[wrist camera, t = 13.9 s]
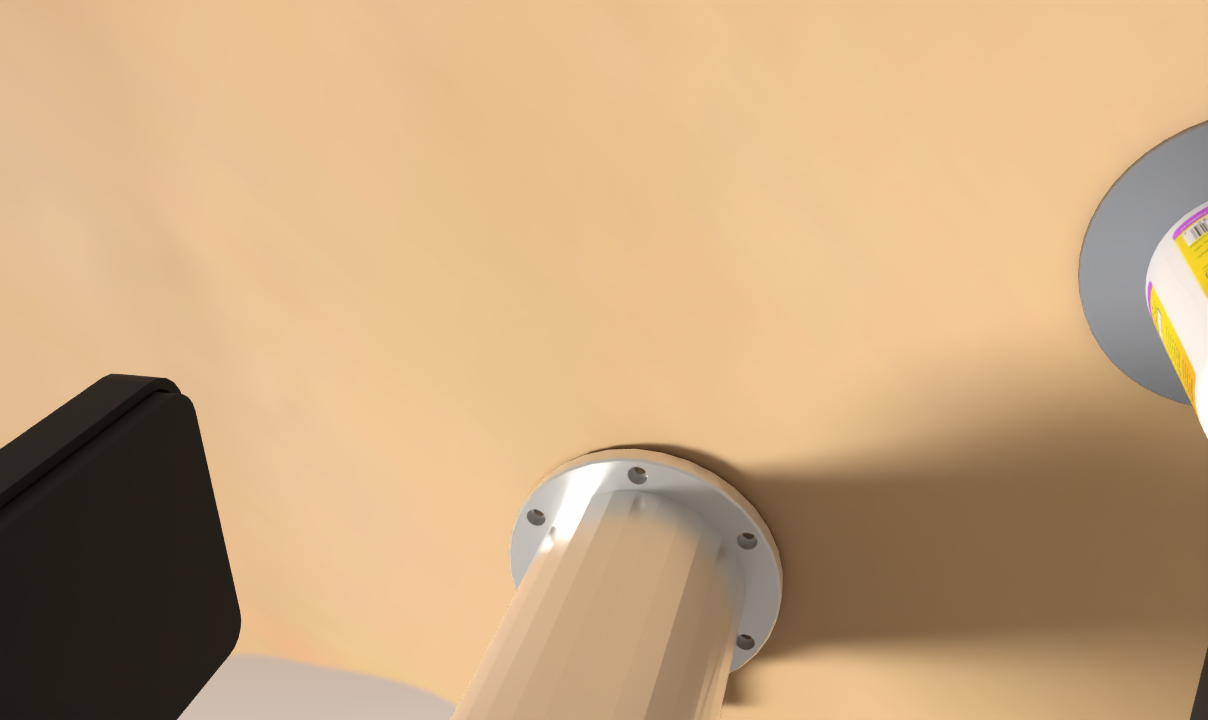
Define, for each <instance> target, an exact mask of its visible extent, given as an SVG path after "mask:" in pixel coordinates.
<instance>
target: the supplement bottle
mask: <svg viewBox="0 0 1208 720" xmlns="http://www.w3.org/2000/svg"><path fill="white" fill-rule="evenodd" d="M1146 300H1147V306H1148V309H1149V312H1150V315H1151V318H1152V321H1153V323H1154V325H1155V327H1156V330H1157V332H1158V334H1159V336H1160V338H1161V340H1162V342H1163V345H1164V347H1165V349H1166V351H1167V353H1168V356H1169V358H1170V359H1171V362H1172V364H1173V366H1174V368H1175V370H1176V372H1177V374H1178V376H1179V378H1180V380H1181V383H1182V385H1183V387H1184V389H1185V391H1186V393H1187V395H1188V397H1189V399H1190V402H1191V404H1192V406H1193V408H1194V410H1195V412H1196V415H1197V417H1198V419H1199V422H1200V424H1201V426H1202V428H1203V430H1204V432H1205V434H1206V436H1207V438H1208V201H1207V202H1205V203H1203V204H1201V205H1199V206H1198V207H1196V208H1194V209H1193V210H1191V211H1190V212H1188V213H1187V214H1186V215H1184V216H1183V217H1182V218H1181V219H1180V220H1179V221H1177V222H1176V223H1175V224H1174V225H1173V226H1172V227H1171V228H1170V230H1169V231H1168V232H1167V233H1166V234H1165V236H1164V237H1163V238H1162V240H1161V241H1160V243H1159V244H1158V246H1157V248H1156V250H1155V252H1154V254H1153V256H1152V258H1151V261H1150V264H1149V267H1148V271H1147V276H1146Z"/></svg>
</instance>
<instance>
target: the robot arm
mask: <svg viewBox="0 0 1208 720" xmlns="http://www.w3.org/2000/svg"><path fill="white" fill-rule="evenodd" d="M640 468H642V469H640ZM509 561H510V572H511V576H512V579H513V582H514V586H515V589H516V593H515V595H514V597H513V599H512V601H511V603H510V605H509V607H508V609H507V611H506V612H505V614H504V616H503V618H502V620H501V622H500V624H499V626H498V628H497V630H496V632H495V634H494V636H493V638H492V640H491V642H490V644H489V645H488V647H487V649H486V651H485V653H484V655H483V657H482V659H481V661H480V663H479V665H478V667H477V669H476V671H475V673H474V675H473V676H472V678H471V680H470V682H469V684H468V686H467V688H466V690H465V692H464V694H463V696H462V698H461V700H460V702H459V704H458V706H457V707H456V709H455V711H454V713H453V715H452V717H451V719H450V720H719V716H720V712H721V707H722V703H723V698H724V694H725V689H726V685H727V680H728V676H729V673H731V672H733V671H735V670H737V669H739V668H741V667H742V666H743V665H744V664H745V663H747V662H748V661H749V660H750V659H751V658H752V657H754V656H755V655H756V654H757V653H758V652H759V650H760V649H761V648H762V646H763V645H764V644H765V642H766V641H767V640H768V638H769V637H770V635H771V632H772V630H773V628H774V625H775V623H776V621H777V618H778V614H779V609H780V604H781V599H782V588H783V571H782V566H781V561H780V556H779V551H778V549H777V546H776V544H775V542H774V539H773V537H772V535H771V532H770V530H769V528H768V527H767V525H766V524H765V522H764V521H763V519H762V518H761V516H760V515H759V513H758V512H757V511H756V509H755V508H754V507H753V506H752V505H751V504H750V503H749V502H748V501H747V500H746V499H745V498H744V497H743V496H742V495H741V494H740V493H739V492H738V491H737V490H736V489H735V488H734V487H732V486H731V485H730V484H728V483H727V482H725V481H724V480H723V479H721V478H720V477H718V476H717V475H716V474H714V473H713V472H711V471H709V470H707V469H704V468H702V467H700V466H698V465H696V464H694V463H692V462H690V461H688V460H685V459H682V458H678V457H675V456H672V455H669V454H665V453H662V452H655V451H648V450H640V449H613V450H605V451H600V452H595V453H591V454H586V455H583V456H581V457H578V458H576V459H574V460H571V461H569V462H567V463H564V464H562V465H561V466H559V467H558V468H557V469H555V470H554V471H552V472H551V473H550V474H548V475H547V476H545V477H544V478H543V479H542V480H541V481H540V483H539V484H538V485H537V486H536V487H535V488H534V489H533V490H532V492H531V493H530V494H529V496H528V497H527V499H526V501H525V502H524V504H523V506H522V507H521V509H520V511H519V513H518V516H517V518H516V521H515V523H514V526H513V528H512V531H511V538H510V546H509ZM240 628H241V614H240V609H239V604H238V600H237V595H236V591H235V586H234V582H233V577H232V573H231V568H230V564H229V559H228V555H227V550H226V546H225V542H224V537H223V533H222V528H221V524H220V519H219V515H218V510H217V506H216V501H215V497H214V492H213V488H212V483H211V479H210V474H209V470H208V465H207V461H206V456H205V452H204V447H203V443H202V438H201V434H200V429H199V425H198V420H197V416H196V411H195V409H194V406H193V403H192V402H191V400H190V399H189V398H188V397H187V396H185V395H183V394H181V392H180V390H179V388H178V387H177V386H176V384H175V383H174V382H172V381H171V380H169V379H167V378H158V377H147V376H135V375H124V374H110V375H108V376H105V377H103V378H101V379H100V380H98V381H97V382H96V383H94V384H93V385H91V386H90V387H88V388H87V389H86V390H84V391H83V392H81V393H80V394H78V395H77V396H76V397H74V398H73V399H71V400H70V401H68V402H67V403H66V404H64V405H63V406H61V407H60V408H58V409H57V410H56V411H54V412H53V413H51V414H50V415H48V416H47V417H46V418H44V419H43V420H41V421H40V422H38V423H37V424H36V425H34V426H33V427H31V428H30V429H28V430H27V431H26V432H24V433H23V434H21V435H20V436H18V437H17V438H16V439H14V440H13V441H11V442H10V443H8V444H7V445H6V446H4V447H3V448H1V449H0V720H177V719H178V718H179V716H180V715H181V714H182V713H183V711H184V710H185V709H186V708H187V706H188V705H189V704H190V703H191V701H192V700H193V699H194V698H195V696H196V695H197V694H198V693H199V692H200V690H201V689H202V688H203V687H204V686H205V684H206V683H207V682H208V681H209V679H210V678H211V677H212V676H213V674H214V673H215V672H216V671H217V670H218V668H219V667H220V666H221V665H222V663H223V662H224V661H225V660H226V659H227V657H228V656H229V655H230V654H231V652H232V650H233V649H234V647H235V645H236V643H237V640H238V637H239V633H240ZM1190 720H1208V649H1207V653H1206V657H1205V661H1204V665H1203V669H1202V673H1201V677H1200V681H1199V685H1198V689H1197V693H1196V697H1195V701H1194V705H1193V709H1192V713H1191V717H1190Z"/></svg>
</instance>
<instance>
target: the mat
mask: <svg viewBox="0 0 1208 720" xmlns="http://www.w3.org/2000/svg"><path fill="white" fill-rule="evenodd" d="M1207 201H1208V121H1205V122H1203V123H1200V124H1197V125H1195V126H1192V127H1190V128H1187V129H1185V130H1183V131H1181V132H1179V133H1178V134H1176V135H1174V136H1172V137H1170V138H1168V139H1166V140H1164V141H1163V142H1161V143H1160V144H1159V145H1157V146H1156V147H1154V148H1153V149H1151V150H1150V151H1148V152H1147V153H1145V154H1144V155H1143V156H1142V157H1141V158H1139V159H1138V160H1137V161H1136V162H1135V163H1134V164H1132V165H1131V166H1130V167H1129V168H1128V169H1127V170H1126V171H1125V172H1124V173H1123V174H1122V175H1121V176H1120V177H1119V179H1118V180H1117V181H1116V182H1115V183H1114V184H1113V185H1112V187H1111V188H1110V189H1109V191H1108V192H1107V194H1106V195H1105V196H1104V198H1103V199H1102V200H1101V202H1100V204H1099V206H1098V208H1097V209H1096V211H1095V213H1094V215H1093V217H1092V219H1091V221H1090V223H1089V226H1088V229H1087V231H1086V234H1085V236H1084V240H1083V244H1082V249H1081V253H1080V259H1079V272H1078V278H1079V292H1080V297H1081V301H1082V306H1083V310H1084V313H1085V316H1086V319H1087V321H1088V324H1089V326H1090V329H1091V331H1092V334H1093V335H1094V337H1095V339H1096V340H1097V342H1098V344H1099V346H1100V347H1101V349H1102V350H1103V351H1104V353H1105V354H1106V355H1107V356H1108V357H1109V359H1110V360H1111V361H1112V362H1113V363H1114V364H1115V365H1116V366H1117V367H1118V368H1119V369H1120V370H1121V371H1122V372H1123V373H1125V374H1126V375H1127V376H1128V377H1130V378H1131V379H1132V380H1134V381H1135V382H1137V383H1138V384H1140V385H1141V386H1143V387H1145V388H1147V389H1149V390H1150V391H1152V392H1154V393H1156V394H1158V395H1160V396H1163V397H1166V398H1168V399H1171V400H1174V401H1176V402H1180V403H1184V404H1188V405H1192V404H1191V402H1190V399H1189V397H1188V395H1187V393H1186V391H1185V389H1184V387H1183V385H1182V383H1181V380H1180V378H1179V376H1178V374H1177V372H1176V370H1175V368H1174V366H1173V364H1172V362H1171V359H1170V358H1169V356H1168V353H1167V351H1166V349H1165V347H1164V345H1163V342H1162V340H1161V338H1160V336H1159V334H1158V332H1157V330H1156V327H1155V325H1154V323H1153V321H1152V318H1151V315H1150V312H1149V309H1148V306H1147V300H1146V276H1147V271H1148V267H1149V264H1150V261H1151V258H1152V256H1153V254H1154V252H1155V250H1156V248H1157V246H1158V244H1159V243H1160V241H1161V240H1162V238H1163V237H1164V236H1165V234H1166V233H1167V232H1168V231H1169V230H1170V228H1171V227H1172V226H1173V225H1174V224H1175V223H1176V222H1177V221H1179V220H1180V219H1181V218H1182V217H1183V216H1184V215H1186V214H1187V213H1188V212H1190V211H1191V210H1193V209H1194V208H1196V207H1198V206H1199V205H1201V204H1203V203H1205V202H1207Z"/></svg>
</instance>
